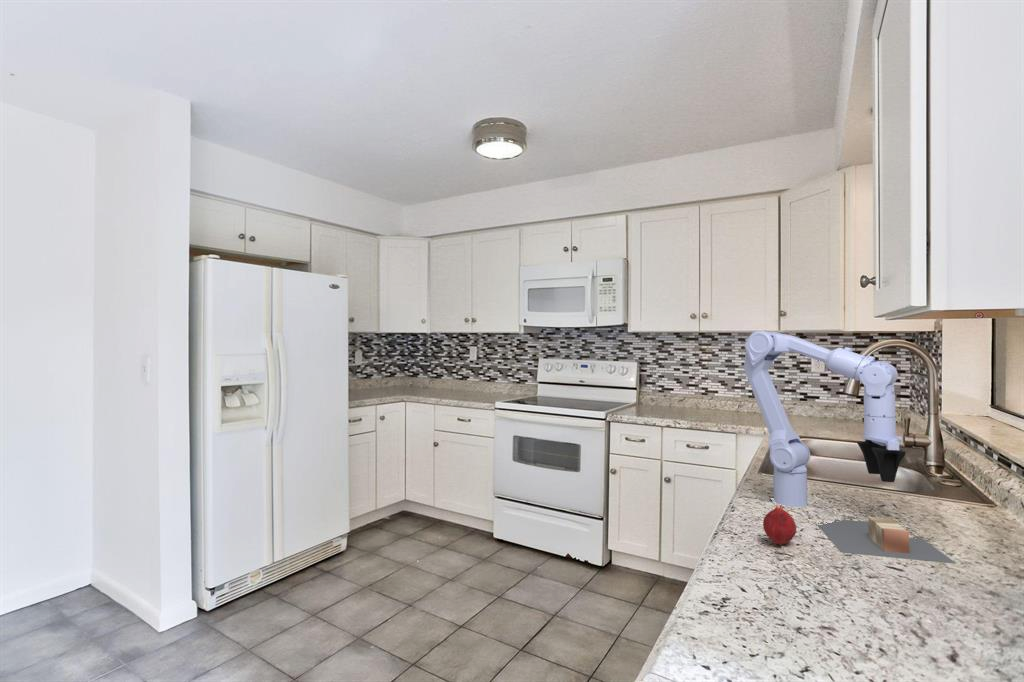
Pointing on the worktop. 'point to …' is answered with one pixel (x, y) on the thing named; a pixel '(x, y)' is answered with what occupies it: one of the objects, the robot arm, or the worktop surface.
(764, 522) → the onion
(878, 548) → the mat
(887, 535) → the block
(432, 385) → the worktop surface
